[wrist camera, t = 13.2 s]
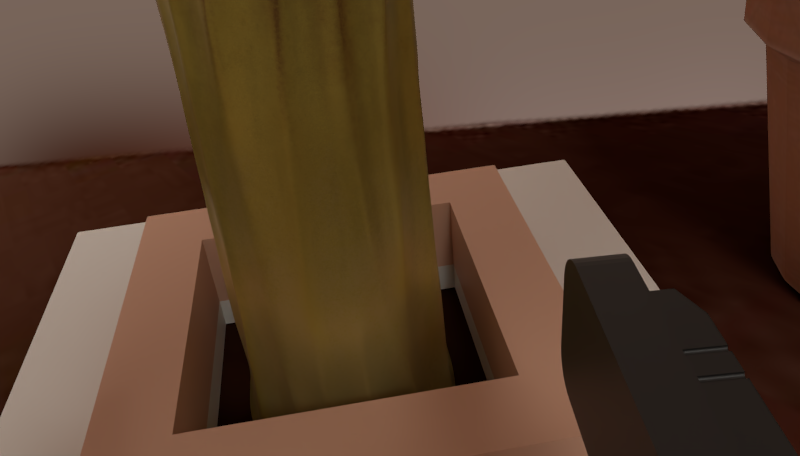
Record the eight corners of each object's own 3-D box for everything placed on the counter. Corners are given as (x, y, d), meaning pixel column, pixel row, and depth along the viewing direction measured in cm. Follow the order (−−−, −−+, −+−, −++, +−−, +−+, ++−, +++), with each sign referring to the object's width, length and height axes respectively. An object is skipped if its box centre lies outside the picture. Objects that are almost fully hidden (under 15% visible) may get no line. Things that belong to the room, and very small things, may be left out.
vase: (418, 305, 25) (376, -165, 17) (488, 437, 20) (475, -143, 12) (240, 352, 24) (107, -132, 16) (268, 506, 19) (94, -92, 11)
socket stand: (563, 180, 31) (566, 104, 29) (902, 667, 14) (961, 564, 12) (86, 252, 29) (56, 177, 28) (-161, 890, 13) (-280, 812, 11)
